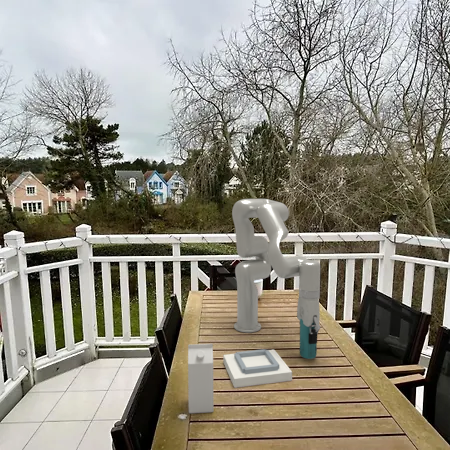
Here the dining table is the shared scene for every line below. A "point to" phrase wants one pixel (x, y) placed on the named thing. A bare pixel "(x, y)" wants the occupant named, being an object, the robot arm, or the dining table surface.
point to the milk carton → (200, 378)
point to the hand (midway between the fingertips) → (308, 339)
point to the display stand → (256, 368)
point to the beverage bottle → (306, 342)
